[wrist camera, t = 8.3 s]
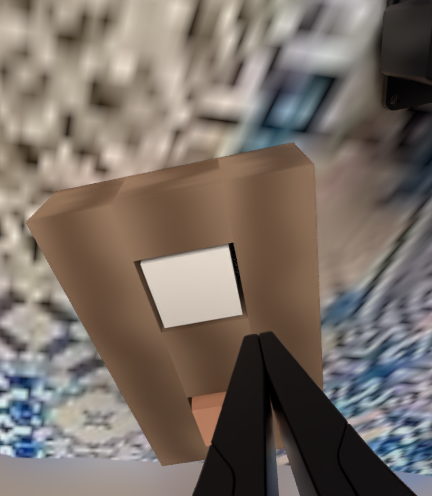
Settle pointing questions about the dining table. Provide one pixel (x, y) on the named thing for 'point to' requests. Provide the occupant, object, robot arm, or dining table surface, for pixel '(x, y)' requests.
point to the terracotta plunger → (207, 413)
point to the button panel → (181, 240)
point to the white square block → (194, 285)
